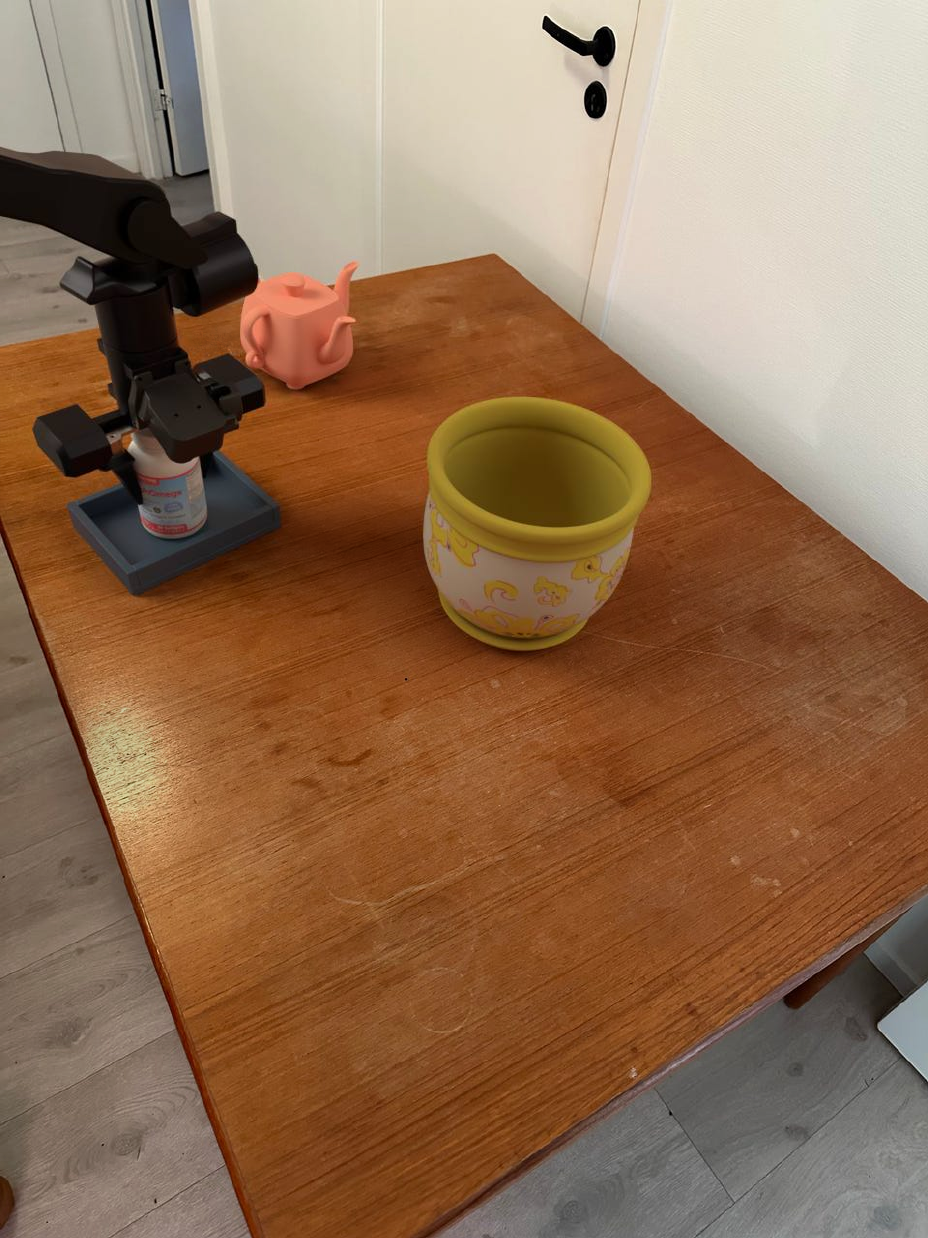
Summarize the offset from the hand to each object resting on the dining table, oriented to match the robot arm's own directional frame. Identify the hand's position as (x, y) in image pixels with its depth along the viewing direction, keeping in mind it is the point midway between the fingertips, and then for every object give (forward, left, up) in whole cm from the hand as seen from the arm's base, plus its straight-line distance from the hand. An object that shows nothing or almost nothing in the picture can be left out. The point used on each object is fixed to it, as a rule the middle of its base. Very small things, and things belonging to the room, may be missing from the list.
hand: (170, 489), depth 80 cm
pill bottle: (0, 0, -4) cm, 4 cm away
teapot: (+27, +17, -5) cm, 32 cm away
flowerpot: (+19, -27, -5) cm, 33 cm away
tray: (0, 0, -5) cm, 5 cm away
